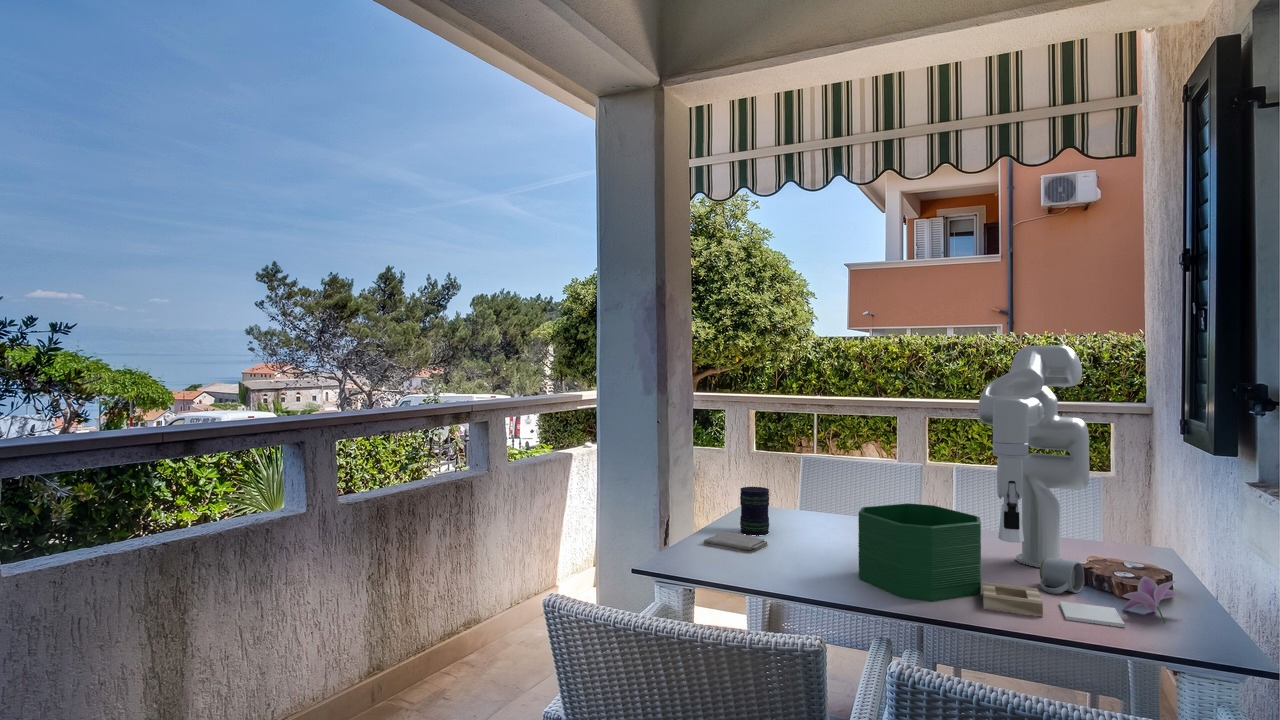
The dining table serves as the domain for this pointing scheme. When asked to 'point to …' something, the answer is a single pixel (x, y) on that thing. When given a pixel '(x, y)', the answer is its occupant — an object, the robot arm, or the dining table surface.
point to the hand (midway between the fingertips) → (1011, 525)
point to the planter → (920, 551)
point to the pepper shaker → (1010, 534)
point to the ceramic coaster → (1091, 614)
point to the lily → (1149, 595)
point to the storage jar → (754, 511)
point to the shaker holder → (1012, 599)
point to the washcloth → (736, 542)
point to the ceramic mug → (1061, 575)
